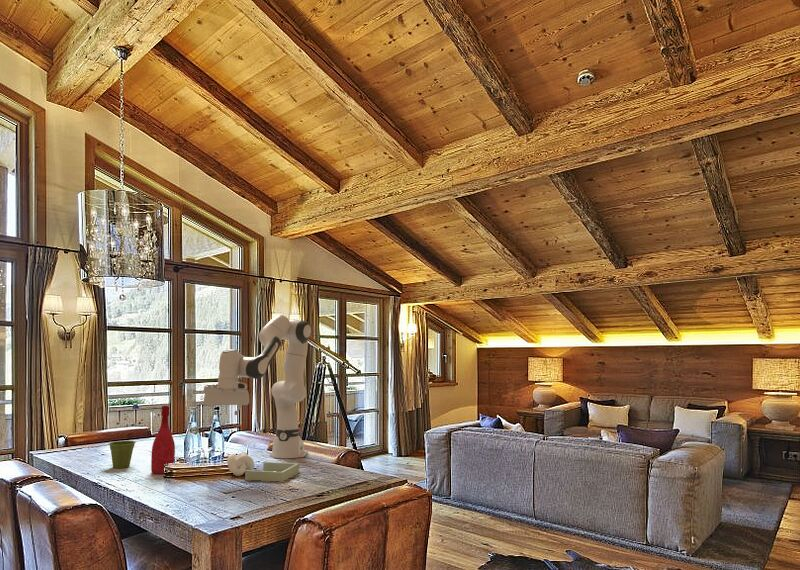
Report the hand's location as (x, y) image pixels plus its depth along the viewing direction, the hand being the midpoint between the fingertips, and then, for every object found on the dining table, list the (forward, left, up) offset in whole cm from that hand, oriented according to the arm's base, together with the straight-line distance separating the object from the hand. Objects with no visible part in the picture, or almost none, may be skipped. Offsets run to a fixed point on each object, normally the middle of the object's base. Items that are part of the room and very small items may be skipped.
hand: (225, 414), depth 273 cm
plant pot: (-2, -53, -26) cm, 59 cm away
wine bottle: (+5, -27, -26) cm, 38 cm away
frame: (+1, +24, -26) cm, 35 cm away
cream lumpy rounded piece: (+1, +8, -26) cm, 27 cm away
